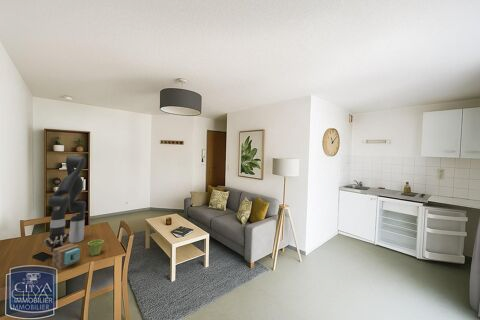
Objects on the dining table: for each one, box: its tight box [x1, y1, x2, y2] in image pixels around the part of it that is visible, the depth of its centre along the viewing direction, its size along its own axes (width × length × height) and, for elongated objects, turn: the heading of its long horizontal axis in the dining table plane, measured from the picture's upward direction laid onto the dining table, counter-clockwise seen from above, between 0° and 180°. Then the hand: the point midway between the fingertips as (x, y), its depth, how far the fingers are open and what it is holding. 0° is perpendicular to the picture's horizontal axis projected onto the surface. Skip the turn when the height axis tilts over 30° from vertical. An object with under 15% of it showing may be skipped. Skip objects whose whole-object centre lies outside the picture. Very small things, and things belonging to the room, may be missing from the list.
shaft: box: [55, 241, 78, 259], centre depth 129 cm, size 21×3×6 cm, turn 71°
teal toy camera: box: [64, 248, 81, 264], centre depth 126 cm, size 3×7×7 cm, turn 161°
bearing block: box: [51, 242, 80, 270], centre depth 128 cm, size 8×10×11 cm
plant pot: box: [87, 239, 104, 257], centre depth 143 cm, size 9×9×9 cm
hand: (56, 251), depth 131 cm, fingers closed on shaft, 2 cm apart
